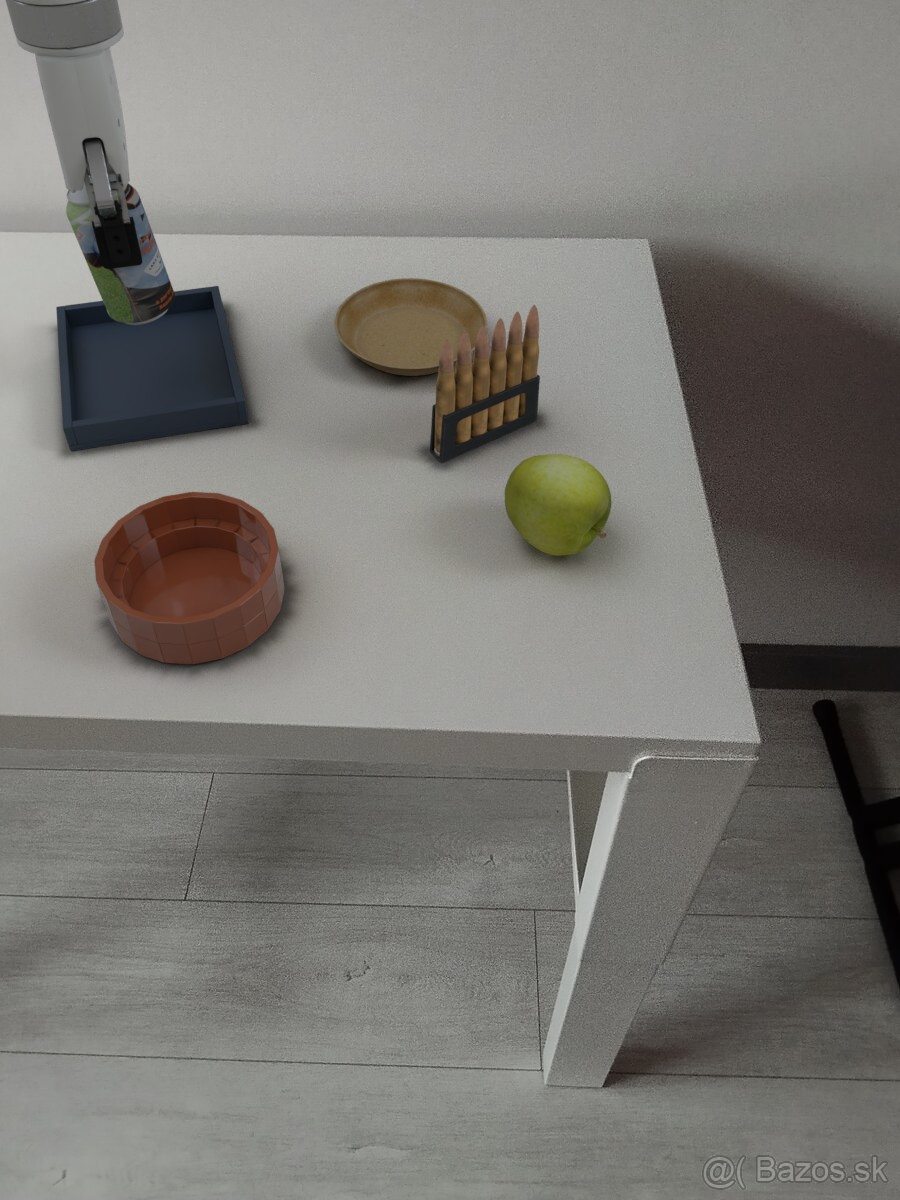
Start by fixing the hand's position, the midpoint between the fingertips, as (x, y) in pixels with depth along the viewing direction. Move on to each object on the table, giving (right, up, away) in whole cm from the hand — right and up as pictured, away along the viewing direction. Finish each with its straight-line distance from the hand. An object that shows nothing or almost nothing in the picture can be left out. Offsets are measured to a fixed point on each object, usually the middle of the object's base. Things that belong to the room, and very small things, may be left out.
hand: (120, 241), depth 88 cm
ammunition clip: (+31, -16, +6) cm, 35 cm away
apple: (+37, -26, -2) cm, 45 cm away
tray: (0, -9, +10) cm, 14 cm away
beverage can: (0, -5, +5) cm, 7 cm away
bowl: (+8, -30, -7) cm, 32 cm away
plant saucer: (+24, -5, +15) cm, 29 cm away
